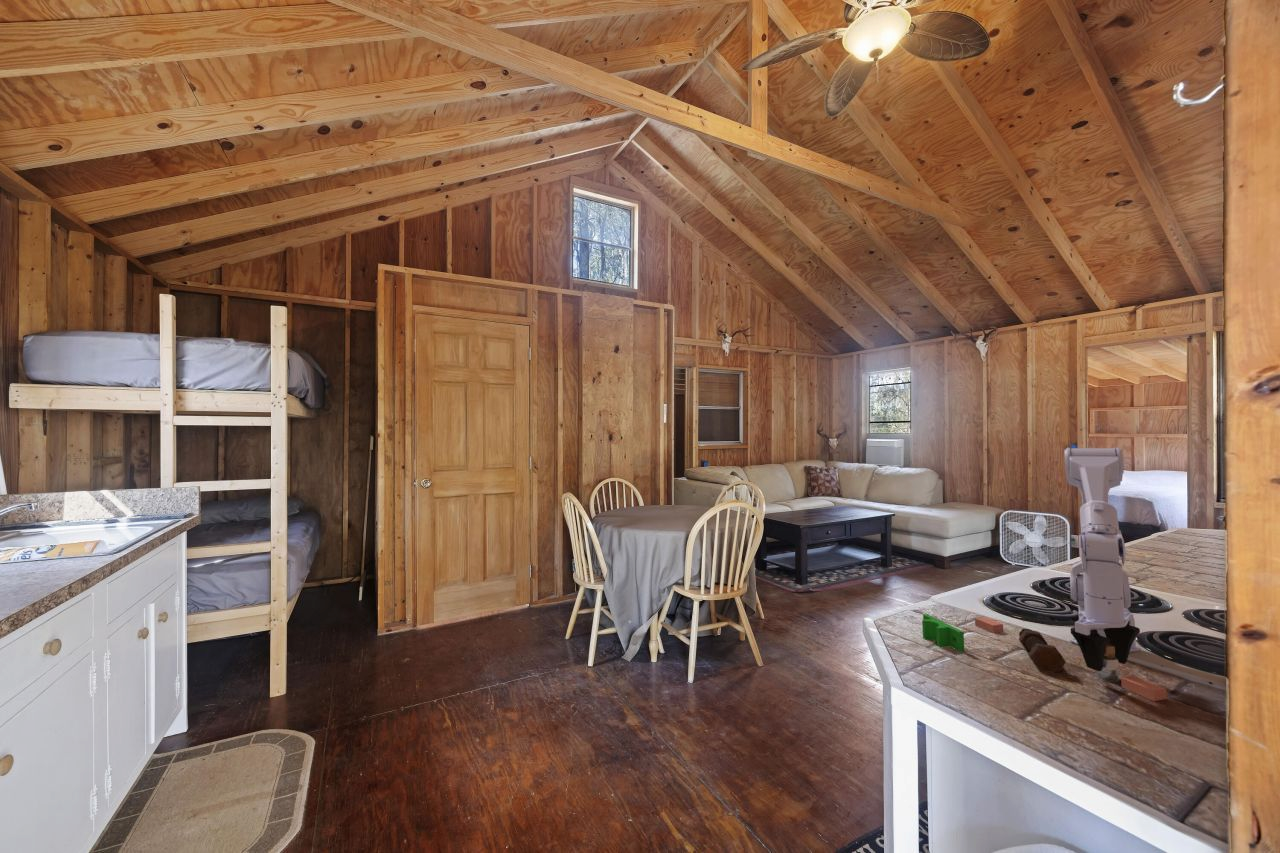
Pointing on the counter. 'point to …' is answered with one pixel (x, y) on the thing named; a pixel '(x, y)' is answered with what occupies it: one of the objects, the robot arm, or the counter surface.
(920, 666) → the counter surface
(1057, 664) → the bolt
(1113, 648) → the two-tone metal capsule
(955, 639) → the pipe clamp
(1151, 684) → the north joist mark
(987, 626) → the block
